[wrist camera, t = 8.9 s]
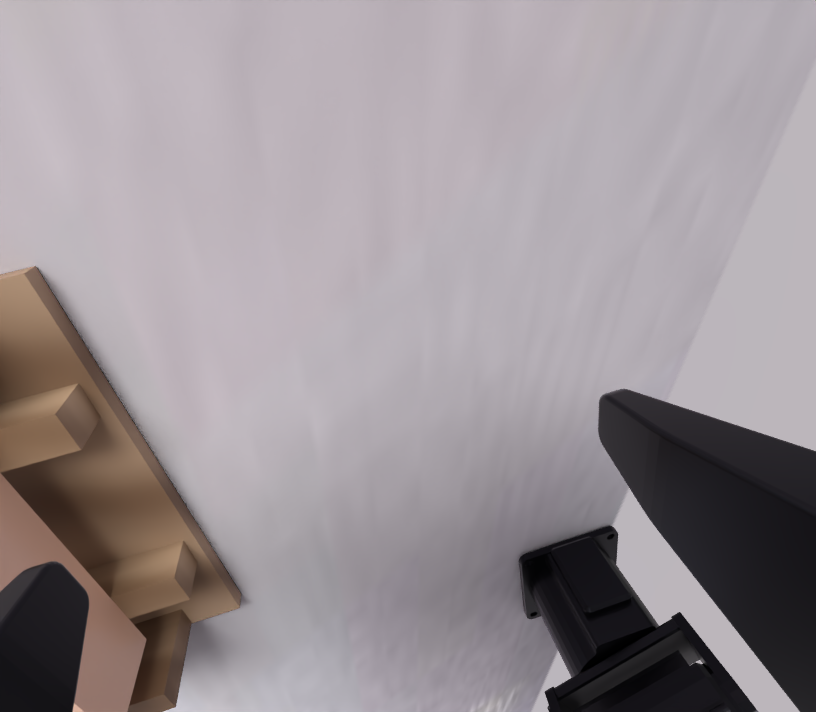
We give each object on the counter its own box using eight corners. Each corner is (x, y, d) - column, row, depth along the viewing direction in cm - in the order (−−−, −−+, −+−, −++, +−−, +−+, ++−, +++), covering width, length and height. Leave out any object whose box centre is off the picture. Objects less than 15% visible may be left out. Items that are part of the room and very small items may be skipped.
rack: (241, 594, 25) (231, 689, 21) (51, 655, 24) (3, 767, 20) (35, 266, 16) (-54, 323, 12) (-290, 344, 15) (-513, 438, 11)
